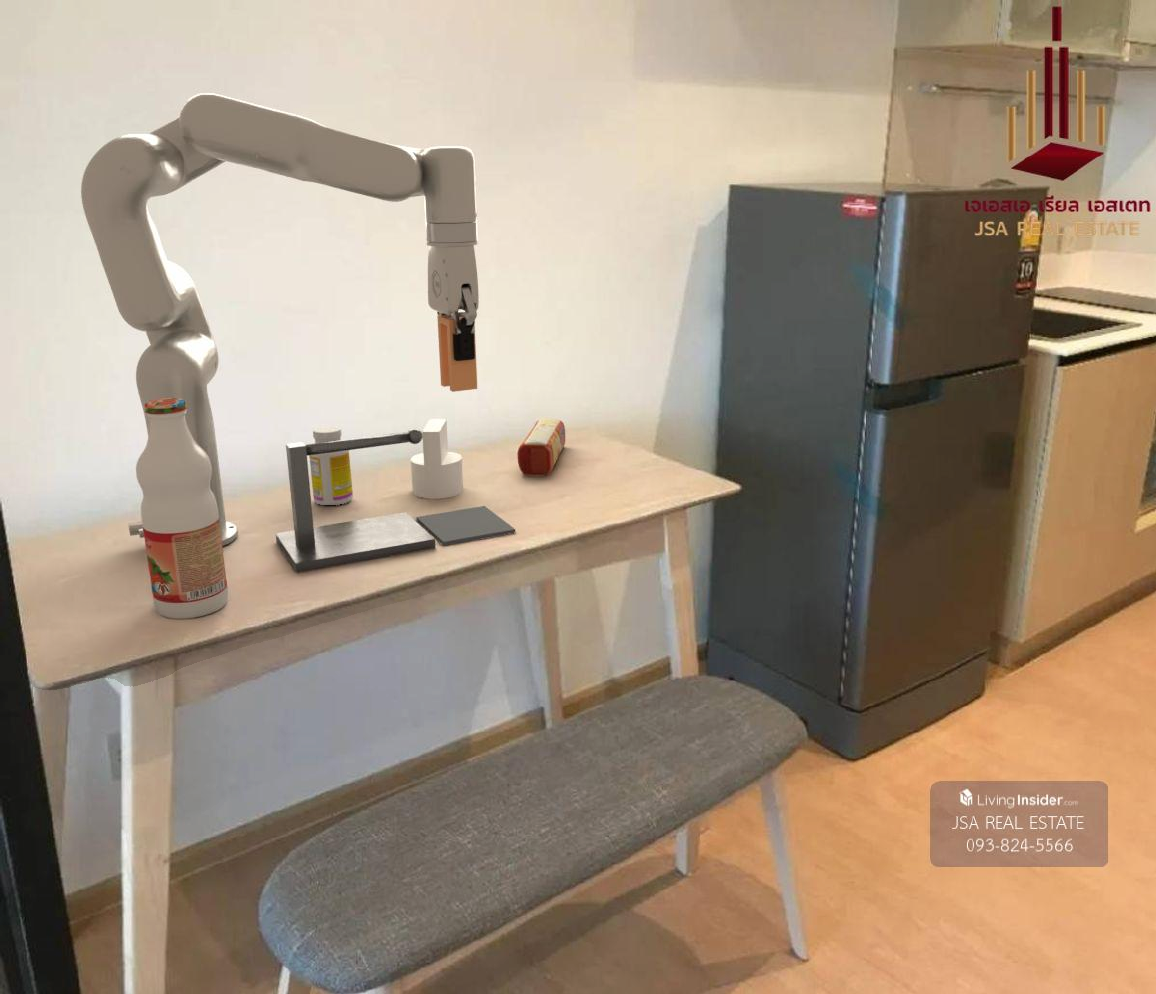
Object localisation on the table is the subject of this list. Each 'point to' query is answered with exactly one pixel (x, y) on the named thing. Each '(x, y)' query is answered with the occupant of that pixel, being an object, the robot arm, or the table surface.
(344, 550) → the hanger stand
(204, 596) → the fruit juice
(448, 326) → the hook link
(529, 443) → the snack package
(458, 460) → the base with upright slab
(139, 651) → the table surface
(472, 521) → the rubber mat
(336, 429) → the supplement bottle
